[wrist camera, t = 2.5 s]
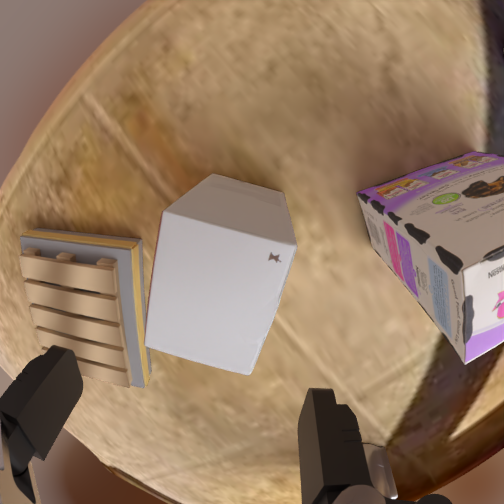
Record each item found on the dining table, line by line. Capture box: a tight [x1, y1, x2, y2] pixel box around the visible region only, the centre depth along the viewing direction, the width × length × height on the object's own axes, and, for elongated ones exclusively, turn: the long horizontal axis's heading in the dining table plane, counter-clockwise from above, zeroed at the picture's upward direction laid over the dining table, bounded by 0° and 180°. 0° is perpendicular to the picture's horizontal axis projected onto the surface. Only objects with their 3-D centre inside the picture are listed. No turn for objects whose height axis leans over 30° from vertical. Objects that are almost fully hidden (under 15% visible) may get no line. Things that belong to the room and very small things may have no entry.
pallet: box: [19, 247, 133, 388], centre depth 27 cm, size 11×14×2 cm
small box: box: [144, 174, 297, 376], centre depth 21 cm, size 8×6×13 cm
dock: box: [20, 228, 152, 388], centre depth 29 cm, size 13×16×3 cm
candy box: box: [356, 151, 504, 364], centre depth 17 cm, size 14×6×16 cm, turn 112°
